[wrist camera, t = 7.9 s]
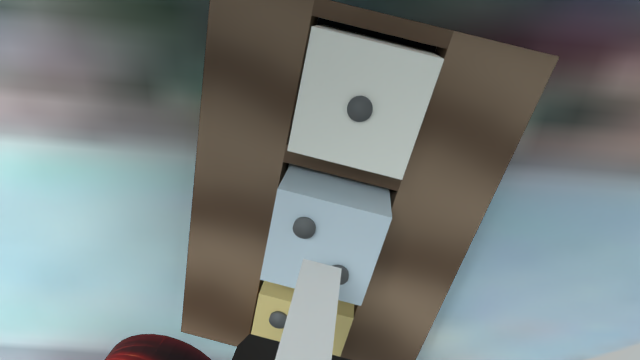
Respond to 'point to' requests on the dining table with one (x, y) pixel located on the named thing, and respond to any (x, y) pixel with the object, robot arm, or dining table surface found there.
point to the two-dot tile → (326, 229)
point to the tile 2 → (362, 100)
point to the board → (346, 167)
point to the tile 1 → (275, 312)
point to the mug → (154, 349)
